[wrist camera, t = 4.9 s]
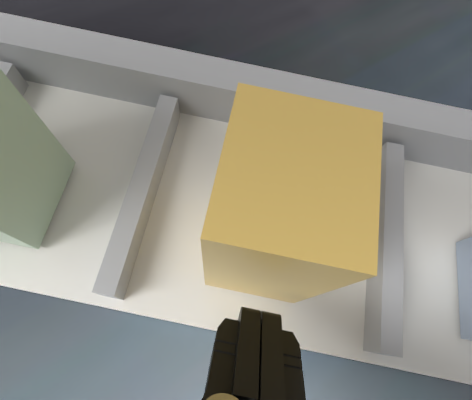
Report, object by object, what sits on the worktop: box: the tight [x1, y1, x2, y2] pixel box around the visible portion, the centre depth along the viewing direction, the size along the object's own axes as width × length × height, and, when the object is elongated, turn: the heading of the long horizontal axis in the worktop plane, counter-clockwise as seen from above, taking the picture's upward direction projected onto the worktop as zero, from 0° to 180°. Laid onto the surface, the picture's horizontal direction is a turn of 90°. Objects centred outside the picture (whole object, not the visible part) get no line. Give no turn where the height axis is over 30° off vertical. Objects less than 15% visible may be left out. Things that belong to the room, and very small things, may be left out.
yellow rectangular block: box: [200, 82, 383, 303], centre depth 13 cm, size 5×4×9 cm
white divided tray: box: [0, 12, 472, 385], centre depth 18 cm, size 14×35×4 cm, turn 79°
